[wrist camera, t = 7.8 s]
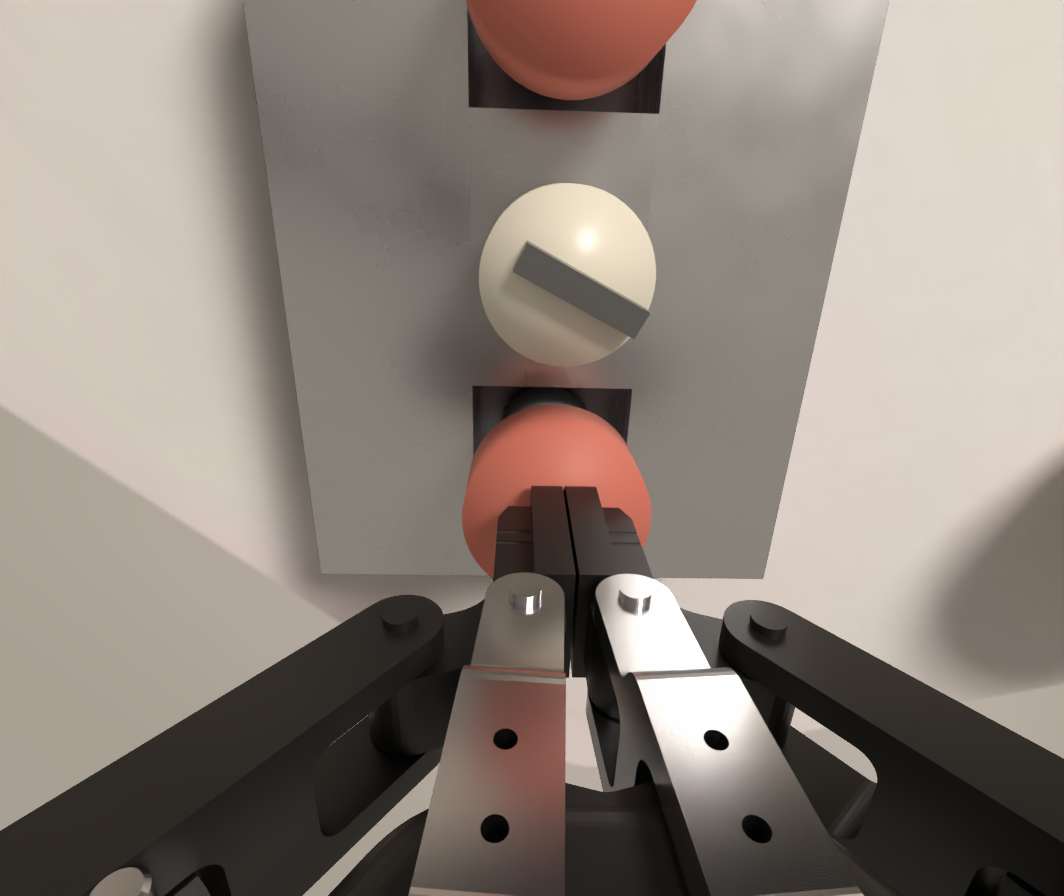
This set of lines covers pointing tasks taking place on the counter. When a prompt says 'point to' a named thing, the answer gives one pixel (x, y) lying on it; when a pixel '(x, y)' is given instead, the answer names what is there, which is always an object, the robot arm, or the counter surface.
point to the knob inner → (575, 41)
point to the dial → (567, 274)
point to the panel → (472, 210)
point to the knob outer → (548, 465)
